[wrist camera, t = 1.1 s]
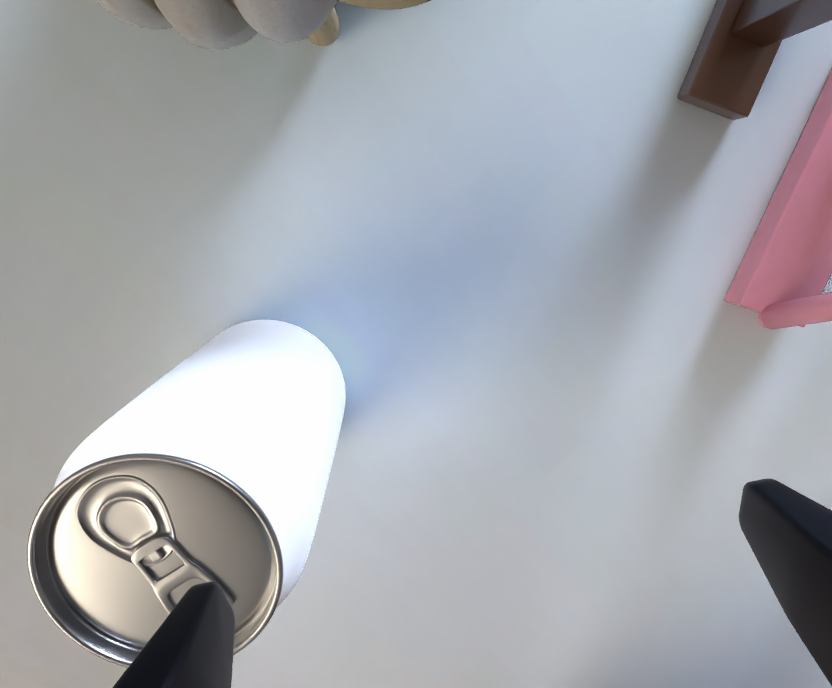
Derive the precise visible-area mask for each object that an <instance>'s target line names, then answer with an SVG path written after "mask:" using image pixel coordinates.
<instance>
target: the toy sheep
mask: <svg viewBox="0 0 832 688" xmlns="http://www.w3.org/2000/svg"><path fill="white" fill-rule="evenodd" d="M96 1H97V2H98V3H99V4H100V5H102V6H103V7H104V8H105V9H107V10H108V11H109V12H111V13H112V14H113V15H115V16H116V17H118V18H120V19H121V20H123V21H125V22H128V23H130V24H132V25H136V26H139V27H142V28H149V29H167V28H174V29H175V30H176V31H177V32H178V33H179V34H181V35H182V36H183V37H184V38H186V39H187V40H188V41H190V42H192V43H194V44H196V45H198V46H200V47H203V48H206V49H214V50H220V49H229V48H233V47H236V46H239V45H241V44H243V43H245V42H247V41H249V40H250V39H251V38H252V37H254V36H255V35H256V34H257V33H260V34H261V35H263V36H265V37H267V38H268V39H271V40H274V41H277V42H282V43H292V42H296V41H300V40H302V39H304V38H307V37H308V38H309V39H310V41H311V42H312V43H314V44H316V45H318V46H328V45H330V44H332V43H333V42H334V41H335V40H336V39H337V37H338V35H339V31H340V23H339V18H338V16H337V13H336V11H335V8H334V6H335V4H336V3H337V1H341V2H344V3H347V4H351V5H355V6H359V7H365V8H373V9H402V8H407V7H412V6H417V5H420V4H423V3H426V2H429V1H431V0H96Z"/></svg>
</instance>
